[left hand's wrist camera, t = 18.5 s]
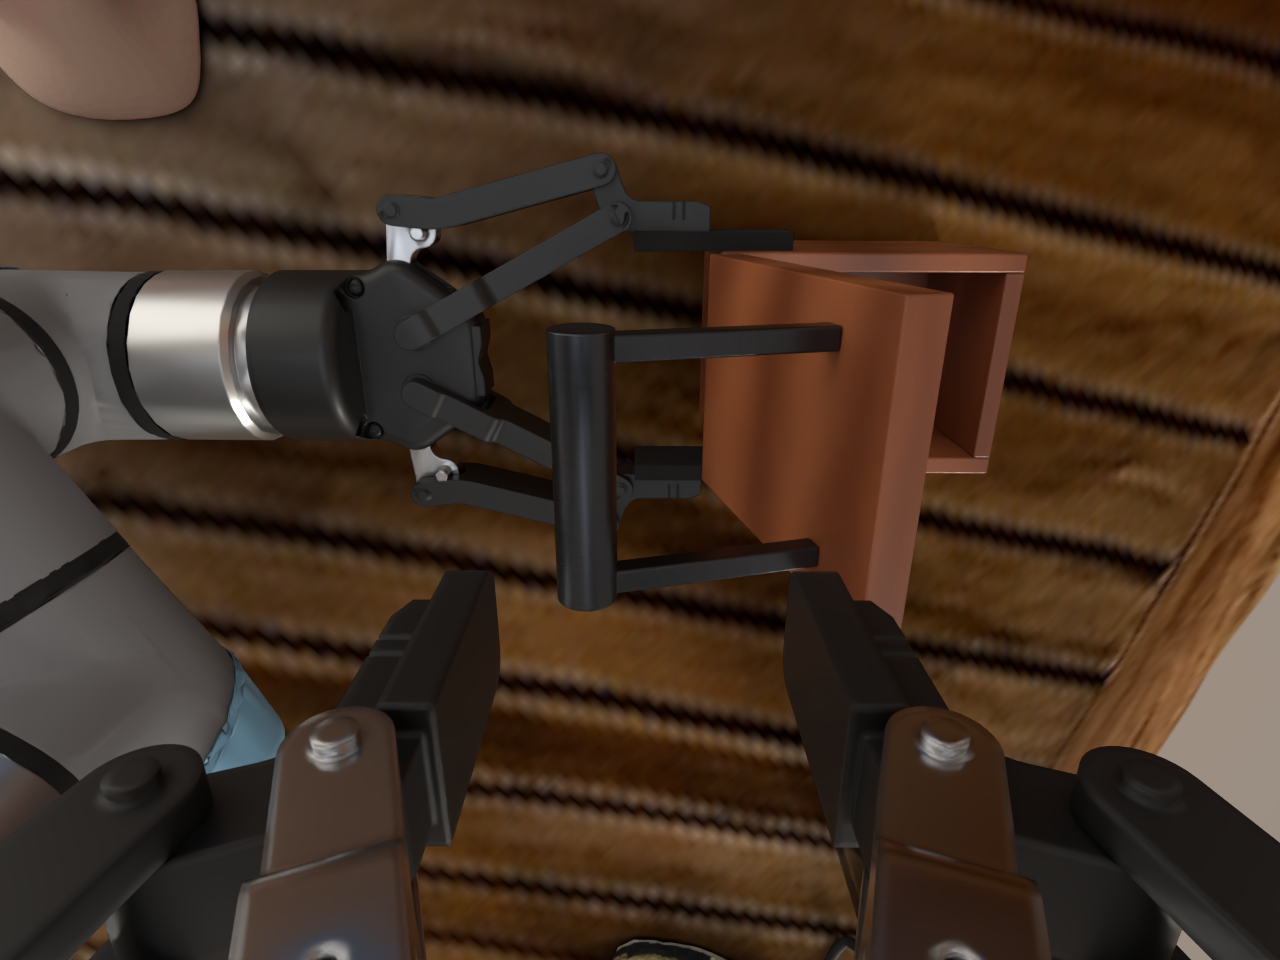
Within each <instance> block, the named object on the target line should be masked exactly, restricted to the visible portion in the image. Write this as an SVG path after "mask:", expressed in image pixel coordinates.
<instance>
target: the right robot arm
mask: <svg viewBox="0 0 1280 960" xmlns="http://www.w3.org/2000/svg"><path fill="white" fill-rule="evenodd" d="M590 190H593V192H594V194H595V197H596V200H597V203H598V206H599V208H600V210H598V211H596V212H594V213H593V214H591V215H589V216H587V217H586V218H584V219H582V220H580V221H579V222H577V223H575V224H573V225H572V226H570V227H568V228H566V229H565V230H563V231H561V232H559V233H558V234H556V235H554V236H552V237H551V238H549V239H547V240H545V241H544V242H542V243H540V244H539V245H537V246H535V247H533V248H532V249H530V250H528V251H526V252H525V253H523V254H521V255H519V256H518V257H516V258H514V259H512V260H511V261H509V262H507V263H505V264H504V265H502V266H500V267H498V268H497V269H495V270H493V271H491V272H490V273H488V274H486V275H484V276H483V277H481V278H479V279H477V280H475V281H474V282H472V283H470V284H468V285H467V286H465V287H463V288H461V289H460V290H457V289H455V288H454V287H452V286H451V285H449V284H448V283H447V282H445V281H444V280H442V279H441V278H439V277H438V276H437V275H435V274H434V273H432V272H431V271H429V270H428V269H427V268H425V267H424V266H422V265H421V264H419V263H418V262H416V260H417V255H418V253H419V251H420V250H421V249H423V248H425V247H430V246H433V245H435V244H437V243H438V242H439V240H440V238H441V229H444V228H450V227H456V226H461V225H466V224H470V223H474V222H477V221H481V220H485V219H488V218H492V217H496V216H499V215H503V214H507V213H510V212H514V211H518V210H521V209H525V208H528V207H532V206H536V205H539V204H543V203H547V202H550V201H554V200H558V199H561V198H565V197H569V196H572V195H576V194H580V193H583V192H587V191H590ZM710 208H711V207H710V206H708V205H706V204H703V203H701V202H699V201H637V200H635V199H633V198H631V197H630V196H629V195H628V194H627V193H626V191H625V189H624V186H623V183H622V180H621V177H620V175H619V172H618V169H617V166H616V164H615V162H614V160H613V159H612V158H611V157H610V156H609V155H607V154H605V153H596V154H592V155H588V156H585V157H581V158H578V159H574V160H571V161H567V162H563V163H560V164H556V165H553V166H549V167H545V168H542V169H538V170H535V171H531V172H527V173H524V174H520V175H517V176H513V177H509V178H506V179H502V180H499V181H495V182H492V183H488V184H484V185H481V186H477V187H474V188H470V189H466V190H463V191H459V192H456V193H452V194H448V195H445V196H441V197H438V198H435V197H426V196H417V195H400V194H390V195H384V196H383V197H381V198H380V199H379V201H378V202H377V206H376V210H377V215H378V217H379V218H380V220H381V221H382V222H384V223H385V224H386V232H387V261H386V262H384V263H382V264H380V265H379V266H377V267H376V268H374V269H371V270H280V271H277V272H274V273H273V274H271V275H268V274H266V273H264V272H261V271H259V270H165V271H149V272H118V271H68V270H20V269H19V268H17V267H0V843H1V842H2V841H3V840H4V839H6V838H7V837H8V836H10V835H11V834H12V833H13V832H15V831H16V830H17V829H19V828H20V827H21V826H22V825H24V824H25V823H26V822H27V821H29V820H30V819H31V818H33V817H34V816H35V815H36V814H38V813H39V812H40V811H41V810H43V809H44V808H45V807H47V806H48V805H49V804H50V803H52V802H53V801H54V800H55V799H57V798H58V797H59V796H61V795H62V794H63V793H64V792H66V791H67V790H68V789H69V788H71V787H72V786H73V785H75V784H76V783H77V782H78V781H80V780H81V779H82V778H84V777H85V776H86V775H87V774H89V773H90V772H92V771H93V770H95V769H96V768H98V767H99V766H101V765H103V764H104V763H106V762H108V761H110V760H112V759H114V758H116V757H118V756H121V755H123V754H126V753H128V752H131V751H134V750H137V749H140V748H144V747H149V746H153V745H161V744H179V745H185V746H188V747H191V748H193V749H194V750H196V751H197V752H198V753H199V754H200V756H201V758H202V760H203V763H204V767H205V771H206V774H208V773H213V772H217V771H222V770H226V769H231V768H235V767H240V766H244V765H248V764H253V763H257V762H261V761H265V760H269V759H272V758H274V757H276V753H277V750H278V748H279V746H280V744H281V742H282V741H283V740H284V738H285V733H284V727H283V724H282V721H281V719H280V718H279V716H278V715H277V713H276V712H275V711H274V709H273V708H272V707H271V705H270V704H269V703H268V701H267V700H266V699H265V697H264V696H263V695H262V693H261V692H260V691H259V689H258V688H257V687H256V685H255V684H254V683H253V681H252V680H251V679H250V677H249V676H248V675H247V674H246V672H245V671H244V670H243V667H242V665H241V663H240V662H239V660H238V659H237V658H236V657H235V656H234V654H233V652H231V651H229V650H227V649H226V648H224V647H223V646H221V645H220V644H219V643H218V642H217V640H216V639H215V638H214V637H213V636H212V635H211V634H210V633H209V632H208V631H207V630H206V629H205V628H204V626H203V625H202V624H201V623H200V622H199V621H198V620H197V619H196V618H195V617H194V616H193V615H192V614H191V612H190V611H189V610H188V609H187V608H186V607H185V606H184V605H183V604H182V603H181V602H180V601H179V599H178V598H177V597H176V596H175V595H174V594H173V593H172V592H171V591H170V590H169V589H168V588H167V587H166V585H165V584H164V583H163V582H162V581H161V580H160V579H159V578H158V577H157V576H156V575H155V574H154V573H153V571H152V570H151V569H150V568H149V567H148V566H147V565H146V564H145V563H144V562H143V561H142V560H141V558H140V557H139V556H138V555H137V554H136V553H135V552H134V551H133V550H132V549H131V548H130V547H129V546H130V545H128V543H127V542H126V541H125V540H124V539H123V537H122V536H121V535H120V534H119V533H118V532H117V530H116V529H115V528H114V527H113V526H112V525H111V523H110V522H109V521H108V520H107V519H106V518H105V517H104V516H103V514H102V513H101V512H100V511H99V510H98V509H97V508H96V506H95V505H94V504H93V503H92V502H91V501H90V500H89V499H88V497H87V496H86V495H85V494H84V493H83V492H82V491H81V489H80V488H79V487H78V486H77V485H76V484H75V483H74V482H73V480H72V479H71V478H70V477H69V476H68V475H67V474H66V472H65V471H64V470H63V469H62V468H61V467H60V466H59V465H58V463H57V462H56V461H55V460H54V458H55V457H57V456H59V455H61V454H64V453H66V452H68V451H70V450H73V449H75V448H77V447H79V446H82V445H84V444H88V443H92V442H97V441H103V440H143V439H179V440H185V439H207V440H275V439H277V438H280V437H282V436H283V435H284V436H285V437H287V438H289V439H293V440H387V441H391V442H394V443H396V444H398V445H400V446H402V447H404V448H407V449H410V453H411V458H412V462H413V467H414V471H415V475H416V480H417V482H416V484H415V485H414V486H413V488H412V490H411V497H412V499H413V501H414V502H415V503H416V504H418V505H420V506H426V507H427V506H438V505H449V504H460V503H462V504H466V505H470V506H475V507H479V508H483V509H488V510H492V511H496V512H501V513H505V514H509V515H514V516H518V517H522V518H526V519H531V520H535V521H539V522H544V523H548V524H552V525H555V521H554V498H553V481H552V480H548V479H543V478H539V477H535V476H531V475H527V474H522V473H518V472H514V471H510V470H505V469H501V468H497V467H493V466H489V465H484V464H478V463H462V461H461V459H460V458H459V457H458V456H457V455H455V454H453V453H447V452H444V451H442V450H441V449H439V448H438V446H437V445H436V441H438V440H439V439H441V438H442V437H443V436H445V435H446V434H447V433H449V432H450V431H451V430H453V429H454V428H458V429H460V430H462V431H464V432H466V433H468V434H470V435H472V436H474V437H476V438H478V439H480V440H483V441H486V442H495V443H498V444H500V445H502V446H504V447H506V448H508V449H510V450H512V451H514V452H516V453H518V454H520V455H522V456H524V457H526V458H528V459H530V460H532V461H534V462H536V463H538V464H540V465H542V466H544V467H547V468H549V469H551V470H552V451H551V428H550V423H548V422H546V421H544V420H542V419H540V418H538V417H536V416H534V415H532V414H530V413H528V412H526V411H524V410H522V409H520V408H518V407H517V406H515V405H513V404H512V402H511V401H510V400H509V399H507V398H506V397H504V396H502V395H500V394H498V393H496V392H494V391H492V390H491V388H492V387H493V386H494V380H493V369H492V366H491V363H490V360H489V357H488V354H487V350H488V345H489V340H490V325H489V319H486V318H485V315H484V313H483V312H482V311H484V310H486V309H488V308H489V307H491V306H493V305H494V304H496V303H498V302H500V301H501V300H503V299H505V298H507V297H508V296H510V295H512V294H514V293H516V292H517V291H519V290H521V289H523V288H524V287H526V286H528V285H530V284H532V283H533V282H535V281H537V280H539V279H540V278H542V277H544V276H546V275H548V274H549V273H551V272H553V271H555V270H556V269H558V268H560V267H562V266H564V265H565V264H567V263H569V262H571V261H572V260H574V259H576V258H578V257H579V256H581V255H583V254H585V253H587V252H588V251H590V250H592V249H594V248H595V247H597V246H599V245H601V244H603V243H604V242H606V241H608V240H610V239H611V238H613V237H615V236H617V235H619V234H620V233H622V232H634V251H793V241H794V232H791V231H787V230H782V229H710ZM702 459H703V446H635V462H634V464H633V463H632V461H631V459H629V458H628V457H627V458H626V461H624V460H622V459H620V458H618V457H616V470H617V531H618V529H619V523H620V520H621V518H622V515H623V513H624V510H625V508H626V506H627V504H628V503H629V502H631V501H632V500H634V499H638V498H692V497H695V496H698V495H700V492H701V481H703V480H702Z"/></svg>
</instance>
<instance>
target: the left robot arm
mask: <svg viewBox="0 0 1280 960" xmlns="http://www.w3.org/2000/svg"><path fill="white" fill-rule="evenodd" d="M783 667H784V678H785V684H786V688H787V692H788V695H789V698H790V702H791V705H792V708H793V712H794V715H795V719H796V722H797V725H798V729H799V732H800V735H801V739H802V742H803V745H804V749H805V752H806V755H807V759H808V762H809V765H810V769H811V772H812V775H813V779H814V782H815V785H816V789H817V792H818V796H819V799H820V802H821V806H822V809H823V812H824V816H825V819H826V822H827V826H828V829H829V832H830V836H831V839H832V842H833V846H834V847H836V850H837V853H838V856H839V860H840V863H841V866H842V870H843V873H844V876H845V879H846V883H847V886H848V889H849V893H850V896H851V899H852V903H853V906H854V909H855V913H856V916H857V919H858V921H857V931H856V939H854V938H853V937H850V936H843V937H842V938H840V939H839V940H838V941H837V942H836V943H835V944H834V945H833V946H832V948H831V949H830V951H829V953H828V955H827V957H826V959H825V960H837V958H838V957H839V955H840V954H841V953H842V952H843V951H844V950H845V949H846V948H847V947H849V948H850V949H851V950H853V951H854V960H1191V959H1190V958H1189V957H1188V956H1187V955H1186V954H1185V953H1184V952H1183V951H1182V950H1181V949H1180V948H1179V947H1178V946H1177V945H1176V944H1177V941H1178V939H1179V936H1180V933H1181V931H1182V930H1183V931H1184V932H1185V933H1186V934H1187V935H1188V936H1189V937H1190V938H1191V939H1192V940H1193V941H1194V942H1195V943H1196V944H1197V945H1198V946H1199V947H1200V948H1201V949H1202V950H1203V951H1204V952H1205V953H1206V954H1207V955H1208V956H1209V957H1210V958H1211V959H1212V960H1280V843H1279V842H1278V841H1277V840H1276V839H1274V838H1273V837H1272V836H1270V835H1269V834H1268V833H1267V832H1265V831H1264V830H1263V829H1262V828H1260V827H1259V826H1258V825H1256V824H1255V823H1254V822H1253V821H1251V820H1250V819H1249V818H1247V817H1246V816H1245V815H1244V814H1242V813H1241V812H1240V811H1239V810H1237V809H1236V808H1235V807H1233V806H1232V805H1231V804H1230V803H1228V802H1227V801H1226V800H1224V799H1223V798H1222V797H1221V796H1219V795H1218V794H1217V793H1216V792H1214V791H1213V790H1212V789H1211V788H1209V787H1208V786H1207V785H1205V784H1204V783H1203V782H1202V781H1200V780H1199V779H1198V778H1196V777H1195V776H1194V775H1192V774H1191V773H1189V772H1188V771H1186V770H1185V769H1183V768H1181V767H1180V766H1178V765H1176V764H1174V763H1172V762H1170V761H1168V760H1166V759H1164V758H1162V757H1159V756H1157V755H1154V754H1151V753H1148V752H1145V751H1142V750H1138V749H1133V748H1128V747H1121V746H1105V747H1098V748H1095V749H1092V750H1090V751H1088V752H1087V753H1086V754H1085V755H1084V756H1083V757H1082V759H1081V761H1080V764H1079V767H1078V771H1077V775H1076V774H1072V773H1067V772H1063V771H1058V770H1054V769H1049V768H1045V767H1040V766H1036V765H1032V764H1027V763H1024V762H1020V761H1016V760H1013V759H1011V758H1008V757H1005V756H1004V753H1003V750H1002V748H1001V746H1000V744H999V742H998V741H997V740H996V738H995V737H994V736H993V735H992V734H991V733H990V732H989V731H988V730H987V729H986V728H984V727H983V726H982V725H980V724H979V723H977V722H975V721H974V720H972V719H970V718H968V717H966V716H964V715H962V714H959V713H956V712H954V711H951V710H949V709H948V707H947V706H946V704H945V702H944V701H943V699H942V697H941V696H940V694H939V692H938V691H937V689H936V687H935V686H934V684H933V682H932V681H931V679H930V677H929V676H928V674H927V672H926V671H925V669H924V667H923V666H922V664H921V662H920V661H919V659H918V658H915V653H914V651H913V649H912V648H911V646H910V644H909V643H908V641H905V636H904V634H903V633H902V631H901V629H900V628H899V626H898V624H897V623H896V621H895V619H894V618H893V617H892V616H891V615H889V614H888V613H887V612H885V611H884V610H883V609H881V608H880V607H879V606H877V605H876V604H875V603H873V602H872V601H871V600H853V599H852V597H851V595H850V593H849V591H848V589H847V587H846V586H845V584H844V582H843V580H842V578H841V576H840V574H839V573H838V572H837V571H793V572H792V574H791V576H790V581H789V590H788V602H787V613H786V625H785V637H784V649H783ZM499 672H500V642H499V630H498V618H497V606H496V594H495V583H494V577H493V574H492V572H491V571H446V572H445V574H444V575H443V577H442V579H441V581H440V583H439V585H438V587H437V589H436V591H435V593H434V594H433V596H432V598H431V600H412V601H411V602H410V603H408V604H407V605H406V606H404V607H403V608H402V609H400V610H399V611H398V612H396V613H395V614H394V615H392V616H391V617H390V619H389V621H388V622H387V624H386V626H385V627H384V629H383V631H382V632H381V634H380V636H379V640H377V641H376V642H375V644H374V646H373V647H372V649H371V651H370V655H369V657H367V658H366V659H365V661H364V663H363V664H362V666H361V668H360V669H359V671H358V673H357V674H356V676H355V678H354V679H353V681H352V683H351V684H350V686H349V688H348V690H347V691H346V693H345V695H344V696H343V698H342V700H341V701H340V703H339V705H338V706H337V708H336V709H333V710H329V711H326V712H324V713H321V714H318V715H316V716H314V717H312V718H310V719H308V720H306V721H305V722H303V723H301V724H300V725H298V726H297V727H296V728H294V729H293V730H292V731H291V732H290V733H289V734H288V735H287V736H286V737H285V738H284V740H283V741H282V742H281V744H280V746H279V748H278V750H277V753H276V757H274V758H272V759H269V760H265V761H261V762H257V763H253V764H248V765H244V766H240V767H235V768H231V769H226V770H222V771H217V772H213V773H208V774H206V771H205V767H204V763H203V760H202V758H201V756H200V754H199V753H198V752H197V751H196V750H194V749H193V748H191V747H188V746H185V745H179V744H161V745H153V746H149V747H144V748H140V749H137V750H134V751H131V752H128V753H126V754H123V755H121V756H118V757H116V758H114V759H112V760H110V761H108V762H106V763H104V764H103V765H101V766H99V767H98V768H96V769H95V770H93V771H92V772H90V773H89V774H87V775H86V776H85V777H84V778H82V779H81V780H80V781H78V782H77V783H76V784H75V785H73V786H72V787H71V788H69V789H68V790H67V791H66V792H64V793H63V794H62V795H61V796H59V797H58V798H57V799H55V800H54V801H53V802H52V803H50V804H49V805H48V806H47V807H45V808H44V809H43V810H41V811H40V812H39V813H38V814H36V815H35V816H34V817H33V818H31V819H30V820H29V821H27V822H26V823H25V824H24V825H22V826H21V827H20V828H19V829H17V830H16V831H15V832H13V833H12V834H11V835H10V836H8V837H7V838H6V839H4V840H3V841H2V842H1V843H0V960H68V959H69V958H70V957H71V956H72V955H73V954H74V953H75V952H76V951H77V950H78V949H79V948H80V947H81V946H82V945H83V944H84V943H85V942H86V941H87V940H88V939H89V938H90V937H91V936H92V935H93V934H94V933H95V932H96V931H97V930H98V929H99V928H100V927H101V926H102V925H103V924H104V926H105V929H106V931H107V934H108V937H109V940H108V941H107V942H106V943H105V944H104V945H103V946H102V947H101V948H100V949H99V950H98V951H97V952H96V953H95V954H94V955H93V956H92V957H91V958H90V959H89V960H426V951H425V941H424V931H423V921H422V911H421V901H420V891H419V883H418V877H417V871H418V868H419V865H420V862H421V859H422V856H423V853H424V850H425V847H426V846H451V844H452V840H453V837H454V833H455V830H456V826H457V823H458V820H459V816H460V813H461V809H462V806H463V802H464V799H465V796H466V792H467V789H468V785H469V782H470V779H471V775H472V772H473V768H474V765H475V761H476V758H477V755H478V751H479V748H480V744H481V741H482V737H483V734H484V731H485V727H486V724H487V720H488V717H489V713H490V710H491V707H492V703H493V700H494V696H495V693H496V689H497V686H498V680H499Z"/></svg>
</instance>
